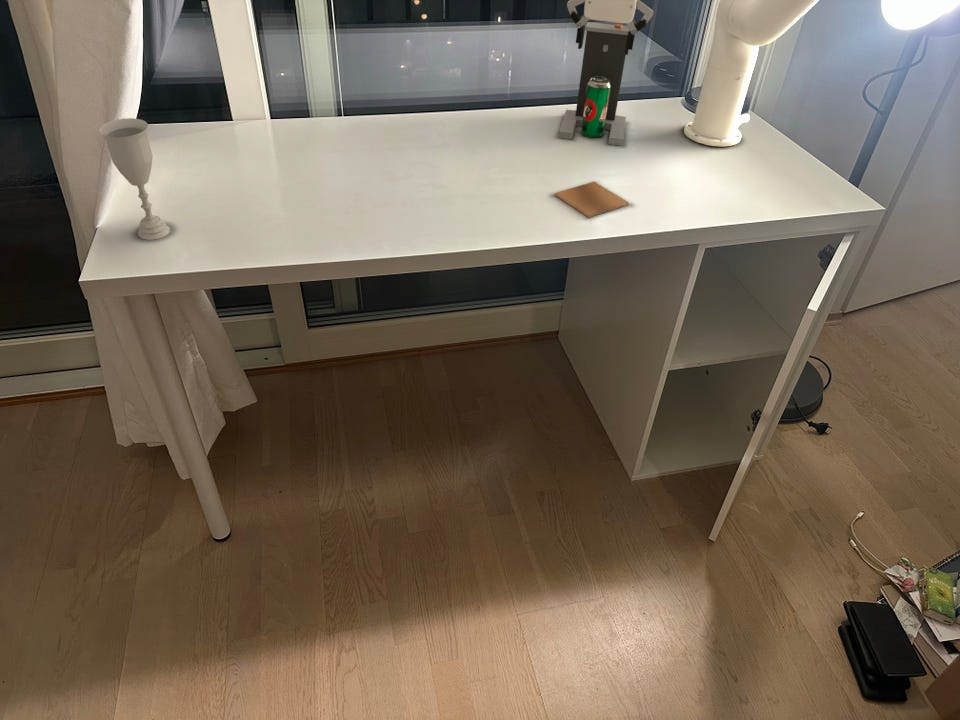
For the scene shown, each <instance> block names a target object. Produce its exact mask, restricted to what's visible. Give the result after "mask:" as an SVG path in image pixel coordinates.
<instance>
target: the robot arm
mask: <svg viewBox="0 0 960 720" xmlns="http://www.w3.org/2000/svg"><path fill="white" fill-rule="evenodd" d="M819 1H820V0H719V2H718V4H717V9H716V12H715V13H716V14H715V22H714V30H713V31H714V32H713V37H712V43H711V48H710V52H709V57H708V60H707V63H706V69H705V71H704V72H705V73H704V76H703V80H702V84H701V88H700V93H699V97H698V101H697V104H696V109H695V113H694V117H693V120H692V121H690V122H688V123H686V124H685V125H684V129H683V133H684V135H685V136H686V137H687V138H688V139H690V140H691V141H693V142H696V143H698V144H702V145H706V146H710V147H731V146H735V145H737V144H738V143H740V141H741V139H742V133H741V131H740V130H739V127H740V125H742V124H745V123H748V122H749V121H750V119H751V118H750V114H748V113H742V110H743V107H744V102H745V99H746V96H747V92H748V89H749V85H750V83H751V82H750V81H751V78H752V75H753V71H754V69H755V66H756V62H757V57H758V54H759V48H760V47H764V46H766V45H769V44H771V43H773V42H774V41H776V40H777V39H779V37H781V36H782V35H784V33H786V32H787V31H788V30H789V29H790V28H791V27H792V26H794V24H796V23H797V21H799V20H800V18H802V17H803V16H804V15H805V14H806V13H807V12H808V11H809V10H811V9H812V7H814V6H815V5H816V4H817V3H818V2H819ZM583 3H584V8H583V14H582V15H579V14H580V13H578V11H577V9H576V7H577V6H579V5H581V4H583ZM566 7H567V10H568V13H569V15H570V16H569V17H570V18H571V20H572V22H573V23H574V24H575V26H576V28H577V30H576V37H575V44H578V46H577V49H578V50H581V49H583V46H584V38H585V33H586V32H585V31H586V30H585V29H586V25H585V24H587V22H589V21H590V20H593V21H599V22H607V23H615V24H625V26H628V28H629V30H630V31H628V36H627V42H626V47H625V53H624V54H625V55H626V56H628V55H629V51H632V50H633V46H634V42H635V36H636V34H637V33H639V31H641V30H642V29H643V28H644V27H646V26H647V24H648V23H649V21H650V20H651V19H652V17H653V16H654V10H653V9H652V8H650V7H649V6H648V5H647V4H646V3H644V2H642V0H568V1H567V2H566ZM636 10H638V11H640V12H641V13H642V14H643V16H642V18H641V19H640V20H639V21H637V22H636V21H635V19H634V18H635V14H636ZM741 113H742V114H741Z"/></svg>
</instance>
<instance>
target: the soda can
mask: <svg viewBox="0 0 960 720" xmlns="http://www.w3.org/2000/svg"><path fill="white" fill-rule="evenodd" d="M610 89H611V84H610V80H609V79H608V78H605V77H600V76H595V77H591V78H590V81H589V82H588V84H587V91H586V98H585V105H584V112H583V119H582V126H580V132H581V134H582V135H583V136H585V137H587V138H591V139H592V138H593V139H594V138H595V139H596V138H600V137H601V136H602V135H604V131H605V129H604V126H605V120H606V114H607V108H608V102H609V96H610Z"/></svg>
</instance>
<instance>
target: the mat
mask: <svg viewBox="0 0 960 720" xmlns="http://www.w3.org/2000/svg"><path fill="white" fill-rule="evenodd" d="M554 196H555V197H556V198H558V199H559V200H561V201H563V202H564V203H565V204H567V205H569V206H570V207H571V208H573V209H575V210H576V211H578V212H579V213H581V214H582V215H584V216H585V217H587V218H592V217H596V216H598V215H602V214H605V213H608V212H611V211H614V210H617V209H620V208H622V207H623V208H624V207H626V206H630V205H629V204H630V202H629V201H627V200H626V199H624V198H622V197H621V196H619V195H618V194H616V193H614V192H612V191H611V190H609V189H607V188H605V187H604V186H603V185H601V184H599V183H597V182H596V181H591V182H588V183H584V184H580V185H577V186H574V187H571V188H567V189H564V190H561V191H560V190H559V191H557V192H555V193H554Z"/></svg>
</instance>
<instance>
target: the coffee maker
mask: <svg viewBox="0 0 960 720" xmlns="http://www.w3.org/2000/svg"><path fill="white" fill-rule="evenodd" d="M585 31H586V32H585V33H586V34H585V42H584V49H583V57H582V64H581V70H580V78H579V85H578V86H579V87H578V92H577V93H578V94H577V100H576V108H575V110H574V109H567V108H566V109H565V112H564V115H563V119H562V121H561V125H560V128H559V132H558V139H566V140H573V137H574V134H575V129H576V127H581V126H582V119H583V112H584V105H585V98H586V91H587V84H588V82H589V81H590V78H591V77H595V76H600V77H605V78H608V79H609V80H610V84H611V89H610V96H609V102H608V108H607V114H606V120H605V126H604V130H607V131H609V137H608V143H607V144H608V145H611V146H612V145H613V146H620V147H622V146H623V143H624V135H625V129H626V121H627V116H626V115H625V116H624V115H616V114H617V108H618V103H619V97H620V90H621V84H622V79H623V73H624V68H625V61H626V56H627V55H625V54H624V53H625V47H626V42H627V36H628V31H630V30H629V28H628V26H627V25H623V23H615V24H610V23H609V24H608V23H601V22H600V23H599V22H591V21H587V22H586V25H585Z"/></svg>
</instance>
